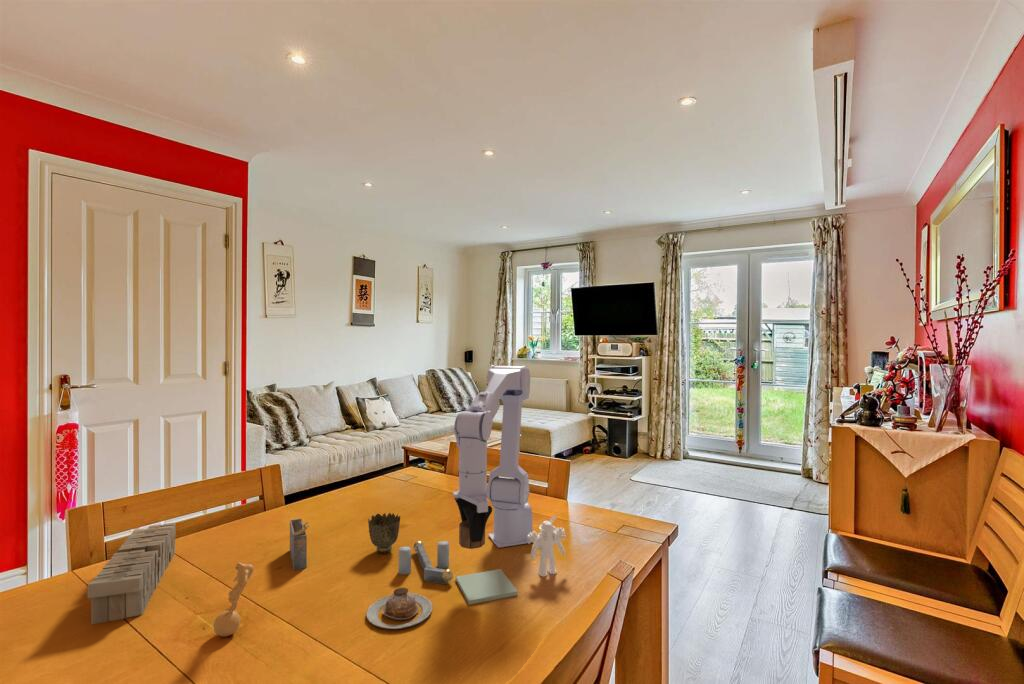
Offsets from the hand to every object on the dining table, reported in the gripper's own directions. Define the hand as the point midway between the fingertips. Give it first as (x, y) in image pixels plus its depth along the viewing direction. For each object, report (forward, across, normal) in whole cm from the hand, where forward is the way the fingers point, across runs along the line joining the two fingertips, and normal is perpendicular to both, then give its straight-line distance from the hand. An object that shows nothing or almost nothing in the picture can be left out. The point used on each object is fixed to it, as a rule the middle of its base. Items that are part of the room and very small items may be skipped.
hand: (472, 535), depth 102 cm
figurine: (+11, +2, -43) cm, 44 cm away
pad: (+10, +2, +2) cm, 11 cm away
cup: (+11, -23, -15) cm, 29 cm away
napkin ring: (+2, 0, 0) cm, 2 cm away
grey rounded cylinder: (+10, -11, -12) cm, 19 cm away
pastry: (+11, +5, -15) cm, 20 cm away
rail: (+10, -11, -6) cm, 16 cm away
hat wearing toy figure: (+11, 0, +17) cm, 20 cm away
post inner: (+10, -11, -4) cm, 16 cm away
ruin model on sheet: (+11, -26, -34) cm, 44 cm away
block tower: (+11, -23, -64) cm, 69 cm away
